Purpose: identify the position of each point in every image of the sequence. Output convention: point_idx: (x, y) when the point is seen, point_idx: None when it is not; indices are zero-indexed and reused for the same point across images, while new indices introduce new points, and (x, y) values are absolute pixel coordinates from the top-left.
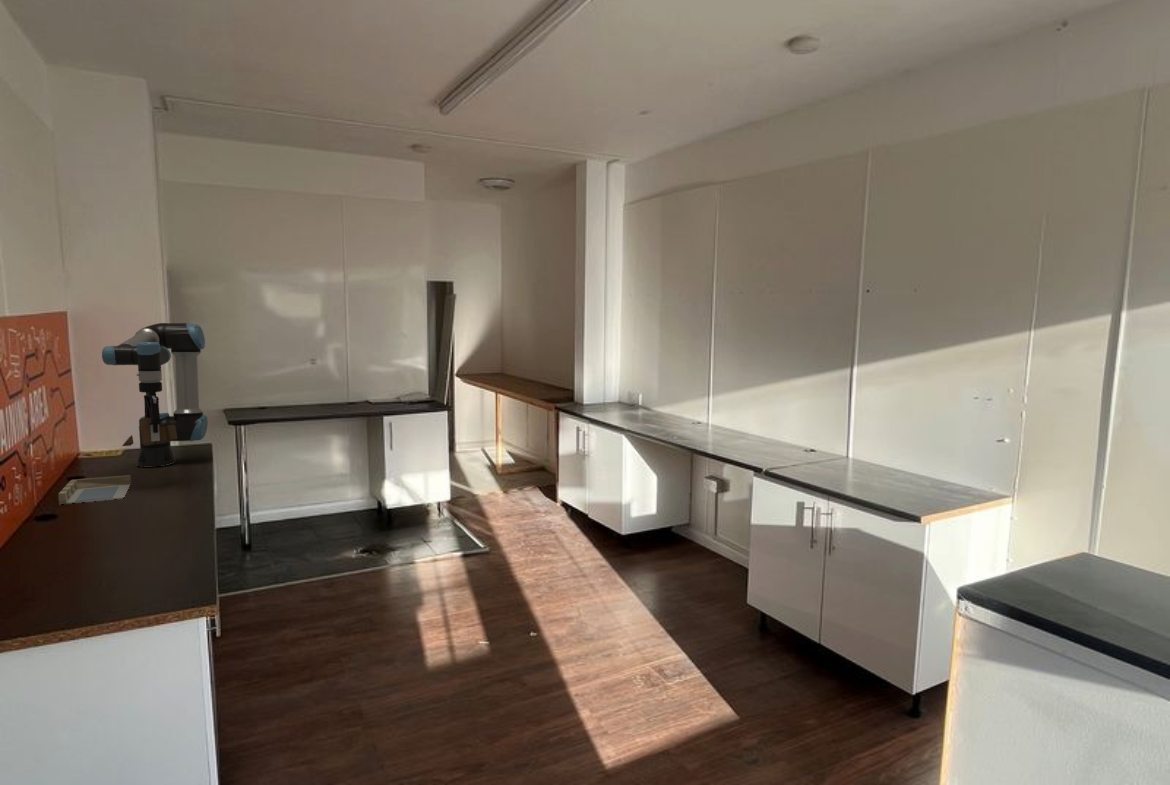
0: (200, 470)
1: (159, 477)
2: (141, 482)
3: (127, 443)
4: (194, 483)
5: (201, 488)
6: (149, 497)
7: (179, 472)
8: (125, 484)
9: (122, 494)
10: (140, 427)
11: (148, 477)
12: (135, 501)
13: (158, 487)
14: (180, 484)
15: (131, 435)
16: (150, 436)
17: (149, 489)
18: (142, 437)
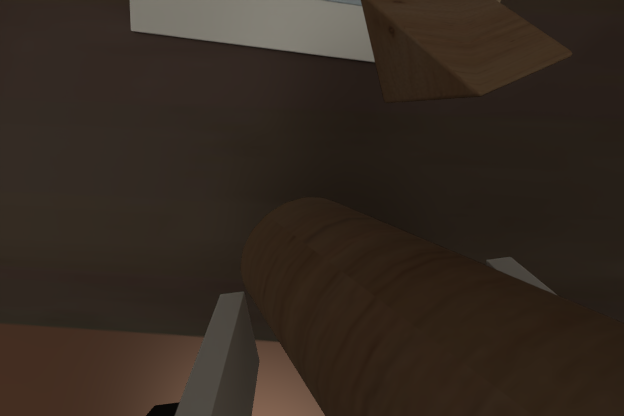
0: None
1: (545, 198)
2: (483, 120)
3: (368, 27)
4: None
5: (204, 325)
6: (117, 140)
7: (595, 276)
8: None
9: (201, 25)
10: (445, 289)
11: (582, 154)
12: (55, 80)
13: (318, 184)
14: None
15: (478, 84)
16: (269, 321)
17: (295, 147)
18: (314, 226)
